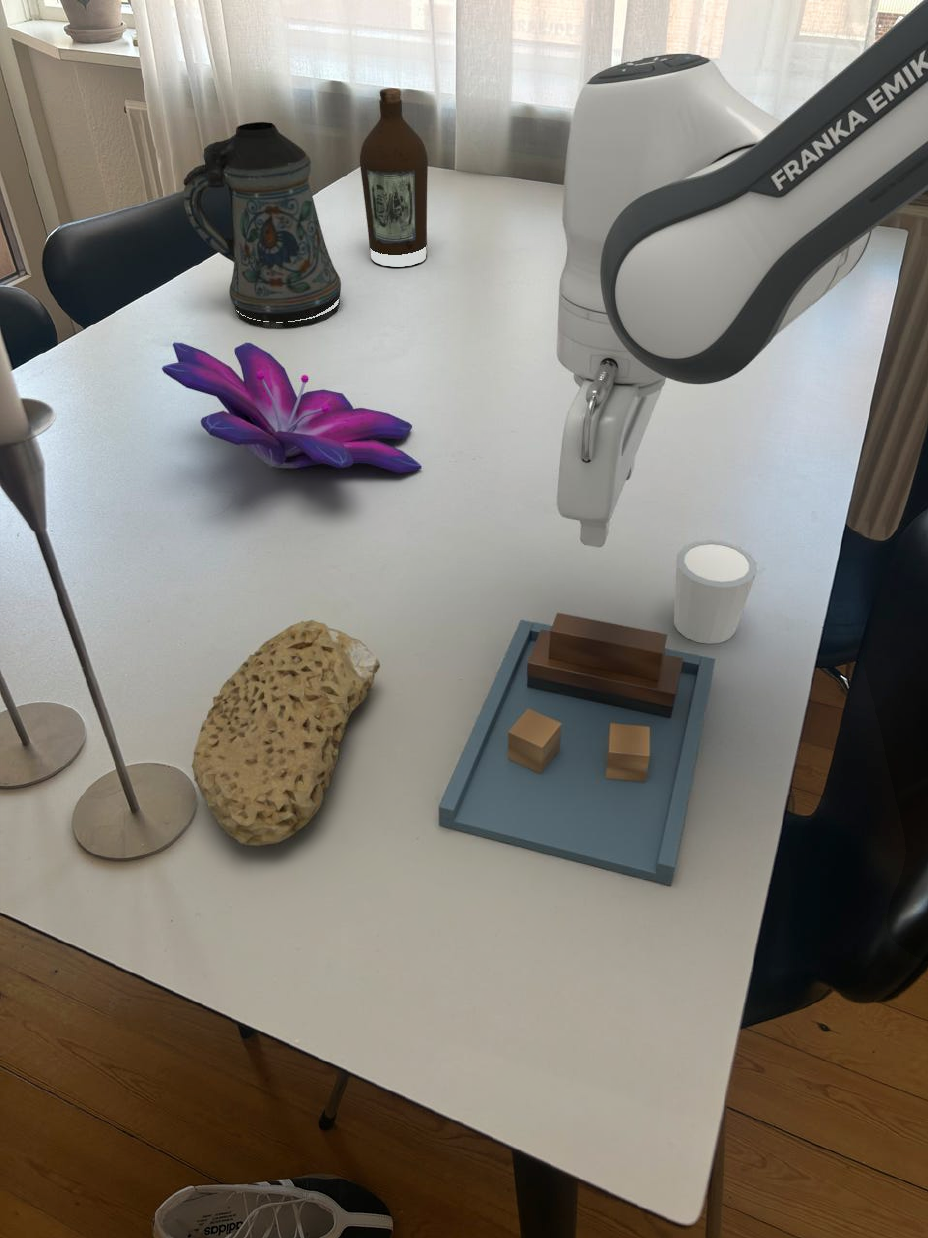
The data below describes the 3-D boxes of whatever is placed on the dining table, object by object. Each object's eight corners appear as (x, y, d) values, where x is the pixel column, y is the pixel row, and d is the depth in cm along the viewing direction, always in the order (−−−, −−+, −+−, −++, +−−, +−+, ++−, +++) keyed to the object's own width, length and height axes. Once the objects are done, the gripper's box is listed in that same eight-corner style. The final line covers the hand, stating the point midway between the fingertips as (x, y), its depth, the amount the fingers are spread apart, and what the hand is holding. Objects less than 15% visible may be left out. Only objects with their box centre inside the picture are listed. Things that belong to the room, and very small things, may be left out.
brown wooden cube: (560, 750, 75) (562, 723, 73) (541, 774, 73) (542, 748, 71) (526, 734, 76) (528, 707, 74) (507, 758, 74) (507, 731, 72)
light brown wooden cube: (645, 753, 75) (649, 726, 73) (645, 782, 72) (650, 756, 70) (606, 749, 75) (609, 722, 73) (605, 778, 73) (608, 751, 71)
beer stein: (365, 307, 145) (350, 125, 129) (254, 346, 135) (224, 153, 119) (301, 278, 154) (280, 104, 138) (194, 312, 144) (158, 129, 128)
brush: (678, 684, 80) (688, 629, 77) (670, 720, 77) (680, 665, 73) (539, 655, 83) (542, 601, 80) (525, 689, 80) (528, 634, 76)
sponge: (282, 667, 86) (122, 791, 70) (296, 595, 82) (129, 710, 66) (409, 736, 83) (271, 882, 67) (430, 664, 78) (288, 803, 62)
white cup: (712, 659, 84) (725, 596, 80) (651, 622, 88) (660, 560, 84) (758, 624, 88) (773, 562, 83) (697, 590, 92) (708, 529, 87)
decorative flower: (333, 417, 130) (358, 348, 125) (441, 547, 111) (476, 472, 106) (101, 377, 110) (121, 294, 106) (184, 526, 91) (213, 433, 87)
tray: (711, 677, 83) (715, 658, 81) (671, 886, 67) (675, 867, 65) (520, 637, 87) (520, 619, 85) (438, 825, 71) (438, 806, 69)
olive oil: (371, 246, 165) (360, 82, 149) (433, 247, 164) (428, 82, 148) (362, 269, 157) (349, 98, 141) (427, 270, 156) (421, 98, 140)
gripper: (641, 408, 56) (621, 595, 65) (693, 282, 71) (671, 448, 80) (536, 394, 58) (530, 578, 67) (608, 274, 73) (596, 437, 81)
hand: (607, 506), depth 73 cm, fingers open, 8 cm apart
